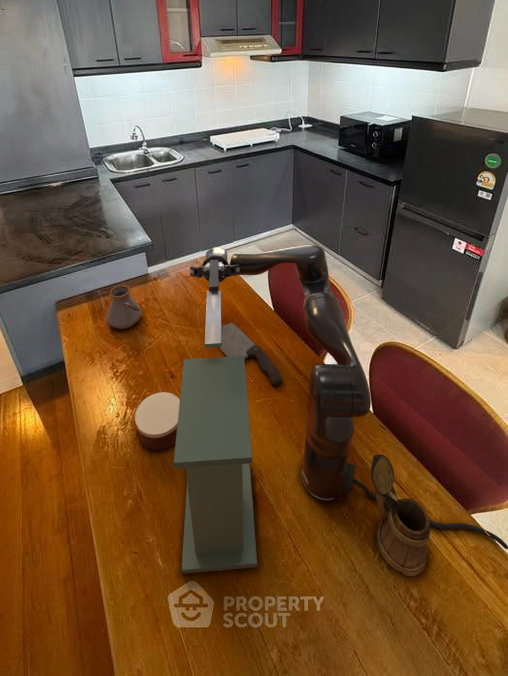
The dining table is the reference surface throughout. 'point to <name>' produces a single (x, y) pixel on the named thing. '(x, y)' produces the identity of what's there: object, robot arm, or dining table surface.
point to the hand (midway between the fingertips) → (213, 273)
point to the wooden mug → (399, 523)
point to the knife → (213, 308)
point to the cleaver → (247, 350)
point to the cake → (158, 420)
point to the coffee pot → (122, 308)
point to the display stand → (216, 465)
